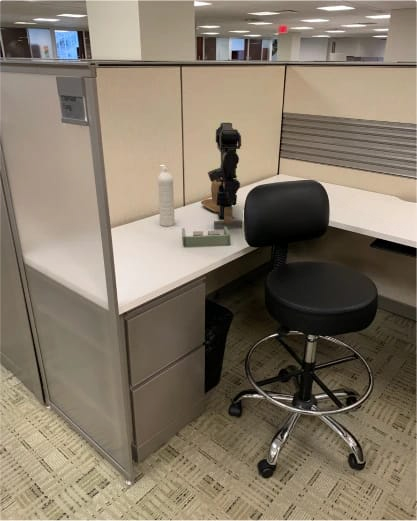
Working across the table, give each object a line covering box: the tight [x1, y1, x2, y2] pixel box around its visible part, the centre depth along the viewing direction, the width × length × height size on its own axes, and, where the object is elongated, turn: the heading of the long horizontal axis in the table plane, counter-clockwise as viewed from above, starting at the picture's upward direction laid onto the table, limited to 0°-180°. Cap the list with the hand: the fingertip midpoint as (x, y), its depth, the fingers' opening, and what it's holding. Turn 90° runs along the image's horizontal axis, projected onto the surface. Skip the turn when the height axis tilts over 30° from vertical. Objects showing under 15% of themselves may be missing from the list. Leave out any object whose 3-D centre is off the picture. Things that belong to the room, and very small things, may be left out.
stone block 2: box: [207, 229, 221, 235], centre depth 162 cm, size 4×4×4 cm
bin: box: [181, 227, 231, 248], centre depth 162 cm, size 10×18×4 cm, turn 96°
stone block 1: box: [192, 230, 204, 236], centre depth 161 cm, size 4×4×4 cm
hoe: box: [213, 206, 243, 231], centre depth 175 cm, size 3×12×9 cm, turn 96°
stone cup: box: [200, 179, 221, 213], centre depth 198 cm, size 15×12×15 cm
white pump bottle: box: [157, 164, 176, 227], centre depth 177 cm, size 9×6×25 cm
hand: (228, 199), depth 171 cm, fingers open, 9 cm apart
